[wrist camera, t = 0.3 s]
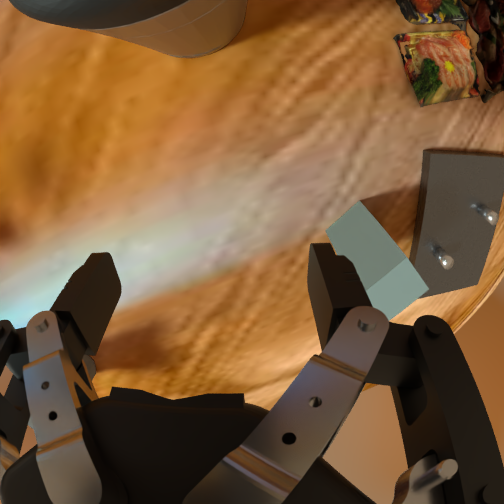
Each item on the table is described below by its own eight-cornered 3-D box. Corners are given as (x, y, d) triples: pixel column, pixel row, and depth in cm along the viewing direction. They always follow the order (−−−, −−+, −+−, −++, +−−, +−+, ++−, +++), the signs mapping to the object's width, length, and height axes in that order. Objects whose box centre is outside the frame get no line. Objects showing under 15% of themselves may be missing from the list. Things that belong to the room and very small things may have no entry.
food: (492, -28, 13) (509, -30, 10) (524, 97, 23) (542, 103, 20) (355, -42, 16) (369, -53, 13) (410, 119, 26) (428, 126, 23)
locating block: (325, 230, 32) (358, 296, 23) (359, 200, 30) (406, 257, 21) (350, 256, 34) (385, 323, 25) (382, 229, 32) (429, 289, 23)
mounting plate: (423, 150, 27) (443, 160, 24) (501, 154, 27) (521, 165, 23) (401, 294, 38) (412, 313, 34) (472, 278, 37) (485, 294, 34)
